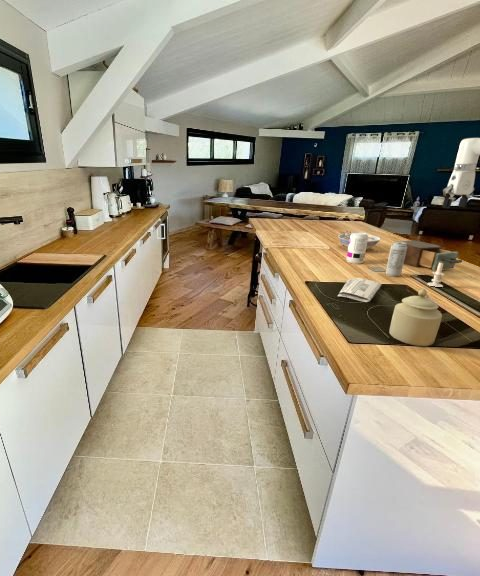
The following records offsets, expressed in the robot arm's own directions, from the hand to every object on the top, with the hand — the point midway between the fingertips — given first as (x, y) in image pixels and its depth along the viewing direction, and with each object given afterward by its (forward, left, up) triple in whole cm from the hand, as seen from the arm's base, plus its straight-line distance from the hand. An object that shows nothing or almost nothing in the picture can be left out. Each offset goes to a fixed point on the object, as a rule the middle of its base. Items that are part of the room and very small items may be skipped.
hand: (454, 207), depth 146 cm
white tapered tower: (+30, +23, -28) cm, 47 cm away
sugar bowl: (+75, +52, -28) cm, 95 cm away
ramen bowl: (+15, -39, -28) cm, 51 cm away
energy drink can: (+35, +7, -28) cm, 45 cm away
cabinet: (+8, -7, -28) cm, 30 cm away
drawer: (+8, +4, -27) cm, 29 cm away
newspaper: (+64, +19, -28) cm, 72 cm away
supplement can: (+36, -16, -28) cm, 48 cm away
